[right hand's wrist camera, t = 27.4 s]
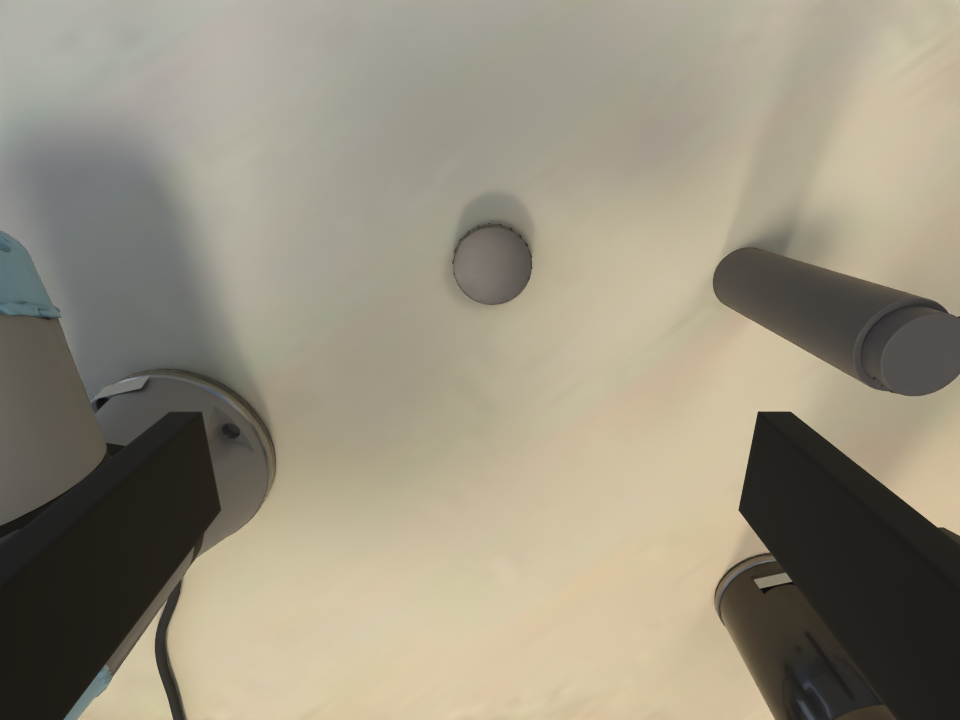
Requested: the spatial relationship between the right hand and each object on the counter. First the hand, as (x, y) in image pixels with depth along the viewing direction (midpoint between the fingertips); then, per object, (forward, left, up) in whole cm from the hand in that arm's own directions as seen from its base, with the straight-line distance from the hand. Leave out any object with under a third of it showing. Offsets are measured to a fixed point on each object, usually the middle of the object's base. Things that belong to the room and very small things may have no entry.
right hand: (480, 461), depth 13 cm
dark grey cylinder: (+3, -19, -28) cm, 34 cm away
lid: (0, -1, -27) cm, 27 cm away
